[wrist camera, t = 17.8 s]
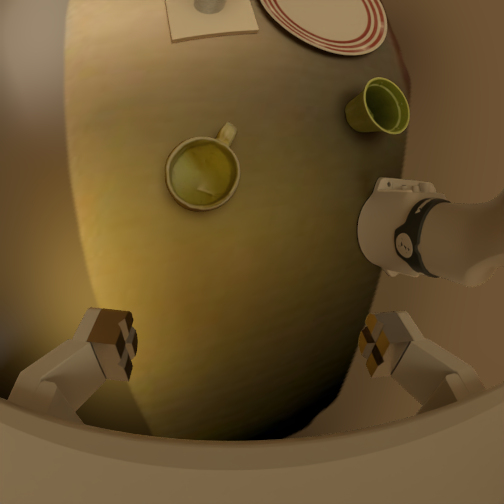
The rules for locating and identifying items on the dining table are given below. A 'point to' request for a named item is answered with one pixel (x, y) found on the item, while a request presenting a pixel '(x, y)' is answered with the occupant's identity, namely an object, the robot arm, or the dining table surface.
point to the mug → (203, 171)
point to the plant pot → (378, 108)
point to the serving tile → (209, 20)
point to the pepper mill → (209, 6)
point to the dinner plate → (332, 23)
